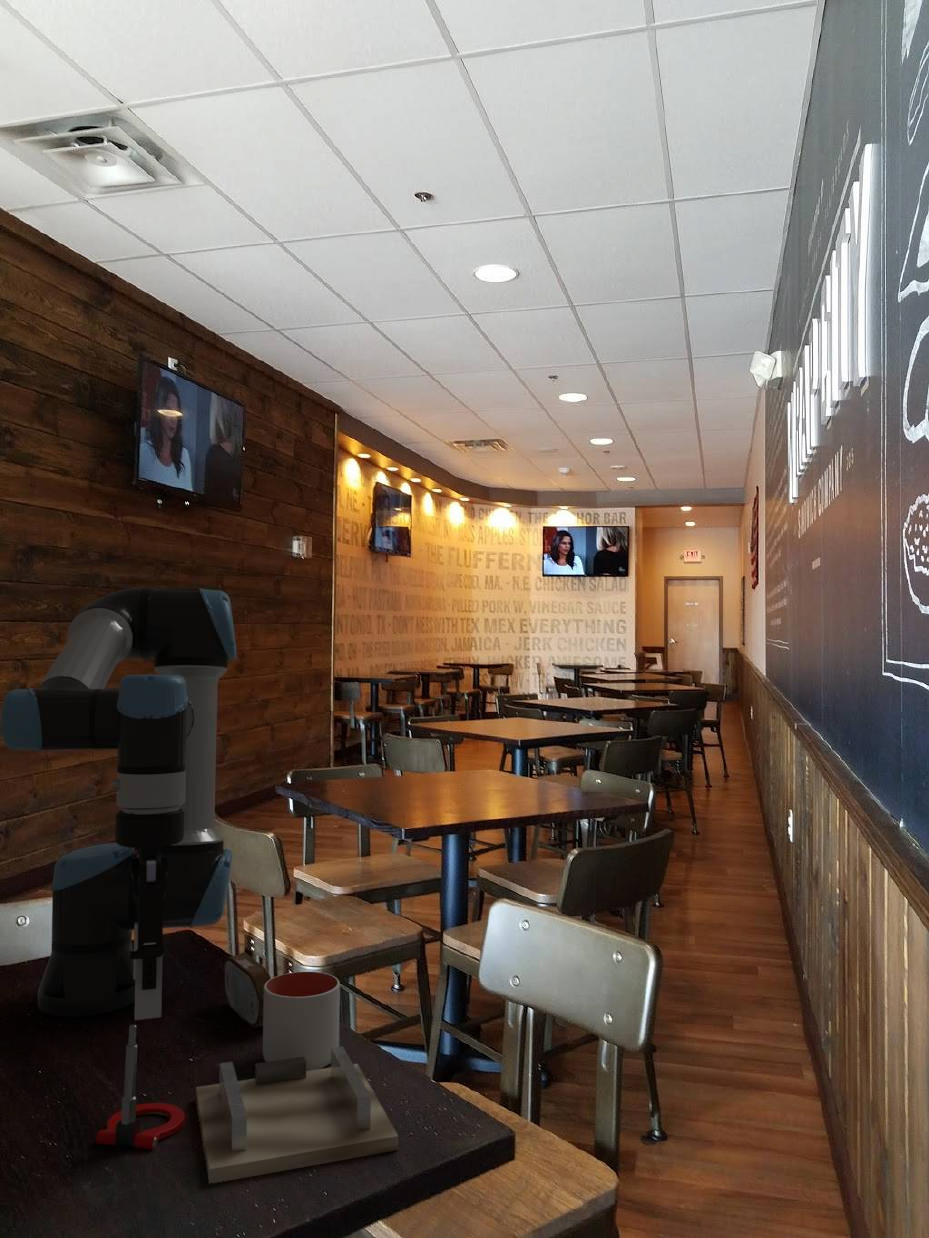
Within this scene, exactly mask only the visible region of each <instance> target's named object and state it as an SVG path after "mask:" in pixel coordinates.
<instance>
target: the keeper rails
mask: <svg viewBox="0 0 929 1238" xmlns="http://www.w3.org/2000/svg"><path fill="white" fill-rule="evenodd" d="M353 1064H354V1063H353V1062H352V1060H351V1058H350V1056H349V1055H348V1053H347V1050H345V1047H344V1045H343V1046H342V1045H341V1046H339V1047H334V1048H331V1063H330V1067H331V1078H332V1080H333V1082H334V1084H335V1086H336V1088H337V1090H338V1092H339V1094H340V1096H341V1099H342V1101H343V1103H344V1105H345V1107H346V1109H347V1111H348V1113H349V1115H350V1117H351V1119H352V1121H353V1123H354V1125H355V1128H356V1130H357V1131H360V1130H366V1129H370V1124H371V1096H370V1094H369V1092H368V1091H367V1089H366V1087H365V1085H364V1083H363V1082H362V1080H361V1078H360V1076H359V1074H358V1072H357V1071H356V1069H355V1067H354V1065H353ZM254 1066H255V1067H254V1068H255V1069H254V1071H255V1072H254V1079H255V1081H256V1085H257V1086H258V1085H265V1084H271V1083H278V1082H285V1081H291V1080H298V1079H305V1078H306V1060H305V1058H304V1057H298V1058H291V1059H284V1060H276V1061H269V1062H266V1061H264V1062H263V1061H262V1062H257V1063H255V1065H254ZM218 1076H219V1083H218V1084H219V1095H220V1100H221V1104H222V1109H223V1114H224V1118H225V1123H226V1128H227V1132H228V1137H229V1142H230V1146H231V1151H232V1152H238V1151H244V1150H246V1139H247V1115H246V1111H245V1107H244V1104H243V1100H242V1096H241V1092H240V1088H239V1084H238V1081H239V1080H238V1077H237V1074H236V1070H235V1066H234V1062H233V1061H226V1062H221V1063H219V1075H218Z"/></svg>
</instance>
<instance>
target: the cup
mask: <svg viewBox="0 0 929 1238" xmlns="http://www.w3.org/2000/svg"><path fill="white" fill-rule="evenodd" d="M340 986H341V983H340V980H339V979H338V978H337V977H336V976H334V975H332V974H329V973H325V972H320V971H295V972H289V973H283V974H280V975H277V976H274V977H272V978H271V979H270V980H269V981H267V982H266V983H265V985H264V1006H263V1027H262V1056H263V1060H264V1062H269V1061H276V1060H284V1059H291V1058H298V1057H304V1058H305V1060H306V1071H310V1070H317V1069H323V1068H325V1067H326V1066H329V1065H331V1048H334V1047H340V1001H341V1000H340V996H341V994H340V989H341V987H340Z"/></svg>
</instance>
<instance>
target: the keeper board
mask: <svg viewBox="0 0 929 1238" xmlns="http://www.w3.org/2000/svg"><path fill="white" fill-rule="evenodd" d="M353 1065H354V1067H355V1069H356V1071H357V1072H358V1074H359V1076H360V1078H361V1080H362V1082H363V1083H364V1085H365V1087H366V1089H367V1091H368V1092H369V1094H370V1096H371V1124H370V1129H366V1130H360V1131H357V1130H356V1128H355V1125H354V1123H353V1121H352V1119H351V1117H350V1115H349V1113H348V1111H347V1109H346V1107H345V1105H344V1103H343V1101H342V1099H341V1096H340V1094H339V1092H338V1090H337V1088H336V1086H335V1084H334V1082H333V1080H332V1078H331V1066H330V1067H326V1068H325V1067H323V1068H320V1069H317V1070H310V1071H306V1078H305V1079H298V1080H291V1081H285V1082H278V1083H271V1084H265V1085H258V1086H257V1085H256V1081H255V1078H250V1079H243V1080H241V1079H240V1080H237V1081H238V1084H239V1088H240V1092H241V1096H242V1100H243V1104H244V1107H245V1111H246V1115H247V1139H246V1150H244V1151H238V1152H232V1151H231V1146H230V1142H229V1137H228V1132H227V1128H226V1123H225V1118H224V1114H223V1109H222V1104H221V1100H220V1095H219V1083H215V1084H207V1085H201V1086H196V1087H195V1104H197V1105H196V1111H197V1110H198V1111H197V1116H199V1118H198V1122H200V1124H199V1127H200V1128H199V1130H200V1129H201V1130H200V1135H202V1136H201V1142H202V1141H203V1143H202V1148H204V1149H203V1154H205V1155H204V1160H206V1162H205V1167H207V1168H206V1172H207V1173H208V1174H207V1173H206V1174H207V1179H208V1180H209V1181H208V1184H209V1185H211V1184H210V1183H213V1184H219V1183H223V1182H222V1181H224V1182H228V1181H229V1180H230V1181H235V1180H239V1179H240V1180H241V1179H246V1178H251V1177H256V1176H262V1175H268V1174H273V1173H279V1172H284V1171H290V1170H296V1169H300V1168H308V1167H311V1166H312V1167H313V1166H317V1165H322V1164H324V1165H325V1164H329V1163H335V1162H338V1161H345V1160H350V1159H355V1158H363V1157H367V1156H368V1157H369V1156H373V1155H378V1154H383V1153H388V1152H389V1153H390V1152H395V1151H398V1150H399V1134H398V1132H397V1131H396V1129H395V1128H394V1127H395V1126H394V1125H393V1124H392V1122H391V1119H390V1117H389V1116H388V1115H387V1113H386V1112H385V1110H384V1108H383V1106H382V1104H381V1102H380V1101H379V1099H378V1097H377V1095H376V1094H375V1092H374V1090H373V1088H372V1087H371V1085H370V1083H369V1081H368V1079H367V1078H366V1076H365V1074H364V1073H363V1070H362V1069H361V1066H360V1065H359V1063H353ZM218 1182H219V1183H218Z"/></svg>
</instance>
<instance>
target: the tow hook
mask: <svg viewBox="0 0 929 1238" xmlns="http://www.w3.org/2000/svg"><path fill="white" fill-rule="evenodd" d="M137 1027H138V1026H137V1024H130V1025H129V1026H128V1041H127V1042H128V1044H126V1047H125V1065H124V1066H125V1067H124V1086H123V1087H124V1088H123V1097H122V1099H121V1110H119V1111H117V1112H115V1113H114V1114H113V1115H111V1117H110V1118H108V1119H107V1123H106V1129H100V1130H99V1131H98V1133H97V1135H96V1140H95V1141H96V1144H97V1145H98V1144H99V1145H108V1146H116V1147H117V1148H123V1147H125V1149H135V1148H136V1149H144V1148H145V1150H155V1149H156V1148H155V1146H156V1145H157V1146H158V1142H159V1141H160V1140H162V1139H165V1138H167V1137H169V1136H173V1134H175V1133H177V1132H178V1131H180V1130H181V1129H182V1128H183V1126H184V1125H183V1124H185V1119H186V1115H185V1112H184V1111H183V1109H181V1108H180V1107H178V1106H176V1105H174V1104H171V1103H163V1102H152V1103H150V1102H148V1103H141V1104H137V1095H136V1087H137V1086H136V1085H137V1064H138V1063H137V1062H138V1043H136V1042H137ZM150 1112H161V1113H164V1114H167V1115H168V1116H169V1117H170V1119H169V1121H168V1122H166V1123H164V1124H162V1125H160V1126H157V1127H154V1128H148V1129H145V1130H144V1131H142V1132H141V1119H137V1117H136V1116H137V1115H140V1114H145V1113H150ZM182 1125H183V1126H182ZM179 1129H180V1130H179ZM176 1131H177V1132H176ZM157 1146H156V1147H157ZM134 1147H135V1148H134ZM154 1148H155V1149H154Z"/></svg>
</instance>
